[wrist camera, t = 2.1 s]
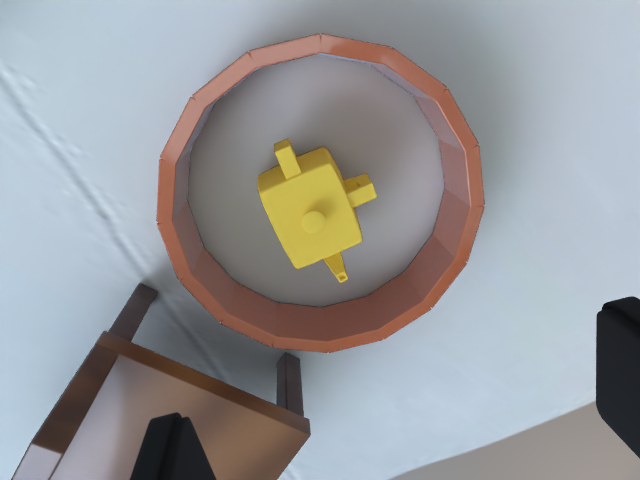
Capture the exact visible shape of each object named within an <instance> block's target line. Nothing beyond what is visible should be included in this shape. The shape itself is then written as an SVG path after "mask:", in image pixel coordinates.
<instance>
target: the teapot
mask: <svg viewBox="0 0 640 480" xmlns="http://www.w3.org/2000/svg"><path fill="white" fill-rule="evenodd" d="M274 152H275V155H276V157H277V159H278V161H279V164H280V165H278V166H276V167H274V168H272V169H270V170H268V171H266V172H264V173H262V174H260V175H259V176H258V178H257V186H258V191H259V195H260V198H261V201H262V204H263V206H264V208H265V211H266V213H267V215H268V217H269V220H270V222H271V224H272V226H273V228H274V230H275V233H276V235H277V236H278V238H279V240H280V242H281V244H282V246H283V248H284V250H285V252H286V253H287V255H288V257H289V259H290V260H291V262H292V264H293V265H294V267H295V268H296V269H299V268H302V267H305V266H307V265H310V264H312V263H315V262H317V261H320V260H322V259H323V260H324V261H325V263H326V264H327V265H328V267H329V268H330V270H331V271H332V272H333V274H334V275H335V276H336V278H337V279H338V280H339V282H340V283H341V282H344V281H346V280H348V277H347V273H346V270H345V266H344V262H343V259H342V255H341V251H343V250H346V249H348V248H350V247H352V246H355V245H357V244H359V243H361V242H362V233H361V228H360V224H359V221H358V217H357V214H356V211H355V208H354V207H357V206H359V205H361V204H363V203H365V202H368V201H370V200H372V199H374V198H377V195H376V192H375V189H374V187H373V184H372V182H371V180H370V178H369V177H368V175H367V174H364V175H360V176H357V177H353V178H349V179H346V180H343V177H342V175H341V173H340V171H339V169H338V167H337V165H336V163H335V161H334V159H333V158H332V156H331V154H330V152H329V151H328V149H327V148H325V147H321V148H318V149H315V150H313V151H310V152H308V153H306V154H303V155H301V156H298V157H297V156H296V154H295V152H294V150H293V148H292V145H291V143H290V141H289V139H288V138H287V139H285V140H283V141H281V142H278V143H276V144H274Z"/></svg>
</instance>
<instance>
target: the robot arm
mask: <svg viewBox="0 0 640 480" xmlns="http://www.w3.org/2000/svg"><path fill="white" fill-rule="evenodd" d="M596 406H597V409H598V411H599V414H600V415H601V417H602V419H603V420H604V421H605V422H606V423H607V424H608V425H609V426H610V427H611V428H612V430H613V431H614V432H615V433H616V434H617V435H618V436H619V437H620V438H621V439H622V440H623V441H624V442H625V443H626V444H627V445H628V447H629V448H630V449H631V450H632V451H633V452H634V453H635V454H636V455H637V456H638V457H639V458H640V299H638V298H636V297H626V298H622V299H618V300H614V301H611V302H607V303H605V304H604V305H603V307H602V311H600V312H598V314H597V336H596ZM130 480H216V477H215V475H214V473H213V470H212V468H211V466H210V463H209V461H208V459H207V456H206V454H205V452H204V449H203V447H202V445H201V442H200V440H199V438H198V435H197V433H196V431H195V428H194V426H193V424H192V421H191V420H190V418H189V417H183V418H182V416H181V414H180V413H178V412H175V413H171V414H167V415H163V416H160V417H156V418H152V419H151V420H150V422H149V424H148V427H147V430H146V433H145V436H144V439H143V442H142V445H141V448H140V451H139V454H138V456H137V459H136V462H135V465H134V468H133V471H132V474H131V477H130Z"/></svg>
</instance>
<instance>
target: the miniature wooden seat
mask: <svg viewBox="0 0 640 480" xmlns="http://www.w3.org/2000/svg"><path fill="white" fill-rule="evenodd" d="M156 293H157V291H155V290H153V289H151V288H149V287H147V286H145V285H143V284H141V283H139V284H138V286H137V287H136V289H135V291H134V292H133V294H132V295H131V297H130V298H129V300H128V302H127V303H126V305H125V306H124V308H123V309H122V311H121V313H120V314H119V316H118V317H117V319H116V320H115V322H114V324H113V325H112V327H111V328H110V330H109V331H108V332H106V331H103V333H102V334H101V336H100V337H99V339H98V340H97V342H96V343H95V345H94V346H93V348H92V349H91V351H90V352H89V354H88V356H87V357H86V359H85V360H84V362H83V363H82V365H81V366H80V368H79V369H78V371H77V372H76V374H75V375H74V377H73V378H72V380H71V381H70V383H69V385H68V386H67V388H66V389H65V391H64V392H63V394H62V395H61V397H60V398H59V400H58V401H57V403H56V404H55V406H54V407H53V409H52V410H51V412H50V414H49V415H48V417H47V418H46V420H45V421H44V423H43V424H42V426H41V427H40V429H39V430H38V432H37V433H36V435H35V436H34V438H33V439H32V441H31V443H30V445H29V446H28V448H27V450H26V452H25V454H24V456H23V458H22V460H21V462H20V464H19V465H18V467H17V469H16V471H15V473H14V475H13V477H12V479H11V480H130V477H131V474H132V471H133V468H134V465H135V462H136V459H137V456H138V454H139V451H140V448H141V445H142V442H143V439H144V436H145V433H146V430H147V427H148V424H149V422H150V420H151V419H152V418H156V417H160V416H163V415H167V414H171V413H175V412H178V413H180V414H181V416H182V418H183V417H189V418H190V420H191V421H192V424H193V426H194V428H195V431H196V433H197V435H198V438H199V440H200V442H201V445H202V447H203V449H204V452H205V454H206V456H207V459H208V461H209V463H210V466H211V468H212V470H213V473H214V475H215V477H216V480H277V479H278V478H279V476H280V475H281V474H282V472H283V471H284V470H285V468H286V467H287V466H288V464H289V463H290V462H291V460H292V459H293V458H294V456H295V455H296V454H297V452H298V451H299V450H300V448H301V447H302V446H303V445H304V443H305V442H306V441H307V439H308V438H309V437H310V435H311V433H310V422H309V419H307V418H305V417H304V411H303V397H302V383H301V369H300V359H299V358H297V357H295V356H293V355H291V354H288V353H286V352H285V353H284V355H283V356H282V357H281V359H280V360H279V362H278V363H277V405H275V404H272V403H270V402H268V401H265V400H263V399H261V398H259V397H256V396H254V395H252V394H249V393H247V392H245V391H242V390H240V389H238V388H236V387H233V386H231V385H229V384H226V383H224V382H222V381H219V380H217V379H215V378H212V377H210V376H208V375H206V374H203V373H201V372H199V371H196V370H194V369H192V368H189V367H187V366H185V365H182V364H180V363H178V362H176V361H173V360H171V359H169V358H166V357H164V356H162V355H159V354H157V353H155V352H153V351H150V350H148V349H146V348H143V347H141V346H139V345H136V344H134V343H132V342H131V340H132V339H133V337H134V335H135V333H136V331H137V329H138V327H139V325H140V324H141V322H142V320H143V318H144V316H145V314H146V312H147V310H148V308H149V307H150V305H151V303H152V301H153V299H154V297H155V295H156Z"/></svg>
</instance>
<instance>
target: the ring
mask: <svg viewBox="0 0 640 480" xmlns="http://www.w3.org/2000/svg"><path fill="white" fill-rule="evenodd" d="M311 55H320V56H325V57H330V58H336V59H341V60H347V61H352V62H357V63H363V64H368V65H370V66H371V67H373V68H374V69H376V70H377V71H379V72H380V73H381V74H383V75H384V76H386V77H387V78H389V79H390V80H391V81H393V82H394V83H396V84H397V85H399V86H400V87H401V88H403V89H404V90H406V91H407V92H409V93H410V94H411V95H413V97H414V98H415V100H416V102H417V103H418V105H419V107H420V108H421V110H422V112H423V113H424V115H425V117H426V118H427V120H428V122H429V124H430V125H431V127H432V129H433V130H434V132H435V134H436V135H437V137H438V139H439V144H440V152H441V160H442V168H443V176H444V184H445V190H444V194H443V197H442V201H441V205H440V208H439V212H438V216H437V219H436V223H435V227H434V230H433V234H432V235H431V236H430V238H429V239H428V240H427V242H426V243H425V244H424V246H423V247H422V249H421V250H420V251H419V253H418V254H417V255H416V257H415V258H414V259H413V261H412V262H411V263H410V265H409V266H408V268H407V269H406V270H405V271H404V272H403V273H401V274H400V275H398V276H397V277H395V278H394V279H392V280H391V281H389V282H387V283H386V284H384V285H383V286H381V287H380V288H378V289H377V290H375V291H374V292H372V293H371V294H369V295H368V296H366V297H362V298H358V299H354V300H350V301H346V302H342V303H338V304H334V305H329V306H325V307H313V306H304V305H294V304H285V303H276V302H274V301H272V300H270V299H268V298H266V297H264V296H262V295H260V294H258V293H256V292H254V291H252V290H250V289H248V288H246V287H244V286H242V285H240V284H238V283H236V282H235V281H234V280H233V279H232V278H231V277H230V276H229V275H228V274H227V273H226V271H225V270H224V269H223V268H222V267H221V266H220V265H219V264H218V262H217V261H216V260H215V259H214V258H213V257H212V256H211V255H210V254H209V252H208V251H207V250H206V249H205V248H204V247H203V244H202V241H201V238H200V235H199V232H198V230H197V227H196V224H195V221H194V218H193V215H192V213H191V210H190V207H189V204H188V201H187V196H188V182H189V168H190V154H191V148H192V146H193V145H194V143H195V141H196V139H197V137H198V135H199V133H200V131H201V130H202V128H203V126H204V124H205V122H206V120H207V118H208V116H209V114H210V113H211V111H212V109H213V107H214V105H215V103H216V102H217V101H218V100H219V99H221V98H222V97H223V96H224V95H226V94H227V93H228V92H230V91H231V90H232V89H233V88H235V87H236V86H237V85H239V84H240V83H241V82H242V81H244V80H245V79H246V78H248V77H249V76H250V75H251V74H253V73H254V72H255V71H257V70H258V69H259V68H262V67H266V66H270V65H274V64H278V63H282V62H286V61H290V60H294V59H298V58H302V57H306V56H311ZM477 144H478V141H477V139H476V137H475V136H474V134H473V132H472V130H471V129H470V127H469V125H468V123H467V121H466V120H465V118H464V116H463V114H462V112H461V111H460V109H459V107H458V105H457V104H456V102H455V100H454V98H453V96H452V95H451V93H450V91H449V89H447V87H446V86H445V85H444V84H442V83H441V82H440V81H438V80H437V79H435V78H434V77H433V76H431V75H430V74H429V73H427V72H426V71H424V70H423V69H422V68H420V67H419V66H417V65H416V64H415V63H413V62H412V61H411V60H409V59H408V58H406V57H405V56H404V55H402V54H401V53H400V52H398V51H397V50H395V49H394V48H390V46H385V45H380V44H374V43H369V42H364V41H359V40H354V39H349V38H343V37H338V36H333V35H328V34H323V33H322V34H314V35H310V36H306V37H302V38H298V39H294V40H290V41H286V42H282V43H278V44H274V45H269V46H265V47H261V48H257V49H253V50H250V51H249V52H246V53H245V54H243V55H242V56H241V57H240V58H238V59H237V60H236V61H235V62H233V63H232V64H231V65H230V66H228V67H227V68H226V69H224V70H223V71H222V72H221V73H219V74H218V75H217V76H216V77H214V78H213V79H212V80H211V81H209V82H208V83H207V84H205V85H204V86H203V87H202V88H200V89H199V90H198V91H197V92H195V93H194V94H193V95H192V97H190V99H189V101H188V103H187V105H186V107H185V109H184V111H183V113H182V114H181V116H180V118H179V120H178V122H177V124H176V126H175V128H174V130H173V132H172V134H171V136H170V138H169V140H168V142H167V144H166V146H165V148H164V150H163V152H162V153H161V155H160V160H159V177H158V198H157V220H156V221H157V222H158V223H157V226H158V229H159V231H160V234H161V236H162V239H163V242H164V244H165V247H166V249H167V252H168V255H169V257H170V260H171V262H172V265H173V268H174V270H175V273H176V275H177V278H178V280H180V282H181V283H182V284H183V285H184V287H185V288H186V289H187V290H188V291H189V292H190V293H191V294H192V295H193V296H194V297H195V298H196V299H197V300H198V301H199V302H200V303H201V304H202V305H203V306H204V307H205V308H206V310H207V311H208V312H209V313H210V314H211V315H212V316H213V317H214V318H215V319H216V320H217V321H218V322H220V321H221V324H222V325H224V326H227V327H229V328H231V329H233V330H235V331H237V332H239V333H241V334H244V335H246V336H248V337H250V338H252V339H254V340H256V341H258V342H261V343H263V344H265V345H267V346H269V347H271V346H272V347H273V348H280V349H290V350H301V351H312V352H322V353H327V352H329V353H331V352H335V351H339V350H344V349H348V348H352V347H356V346H360V345H364V344H368V343H372V342H376V341H381V340H383V339H386V338H387V337H389V336H390V335H392V334H394V333H395V332H397V331H398V330H400V329H401V328H403V327H404V326H406V325H408V324H409V323H411V322H412V321H414V320H415V319H417V318H419V317H420V316H422V315H423V314H425V313H426V312H428V311H429V310H431V308H433V307H434V305H435V304H436V303H437V302H438V300H439V299H440V298H441V296H442V295H443V294H444V293H445V291H446V290H447V289H448V287H449V286H450V285H451V284H452V282H453V281H454V280H455V278H456V277H457V276H458V274H459V273H460V272H461V271H462V269H463V268H464V267H465V265H466V264H467V263H466V262H468V259H469V256H470V253H471V249H472V246H473V243H474V240H475V236H476V233H477V230H478V227H479V223H480V220H481V217H482V214H483V210H484V206H483V205H484V204H485V202H484V191H483V181H482V170H481V159H480V149H479V145H477ZM430 307H431V308H430Z"/></svg>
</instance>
